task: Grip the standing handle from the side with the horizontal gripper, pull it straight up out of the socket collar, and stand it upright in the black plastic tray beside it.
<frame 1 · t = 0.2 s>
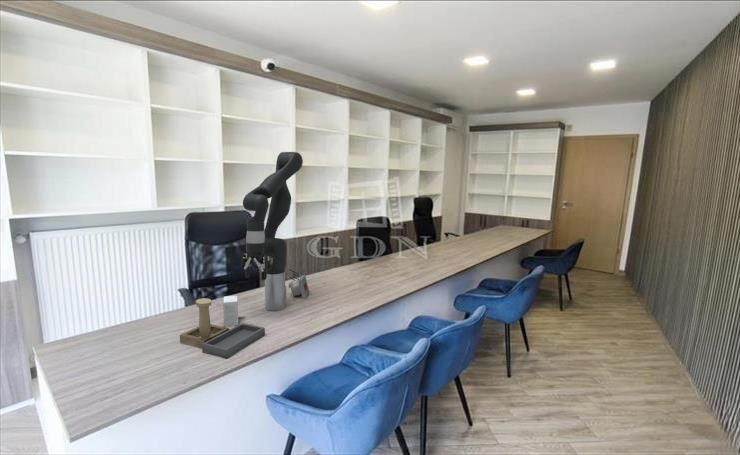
hand: (255, 278, 153), 18 cm above the counter, tool pointing down, fingers open, 8 cm apart
handle: (205, 339, 134), resting in socket collar
socket collar: (205, 339, 134), on the counter
voltmeter: (297, 292, 191), on the counter
tray: (235, 343, 131), on the counter
small box: (231, 323, 150), on the counter
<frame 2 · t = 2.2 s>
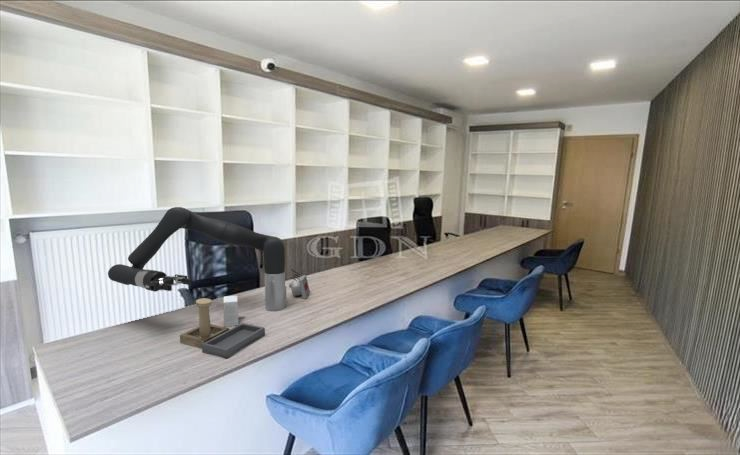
hand: (180, 285, 136), 20 cm above the counter, tool horizontal, fingers open, 8 cm apart
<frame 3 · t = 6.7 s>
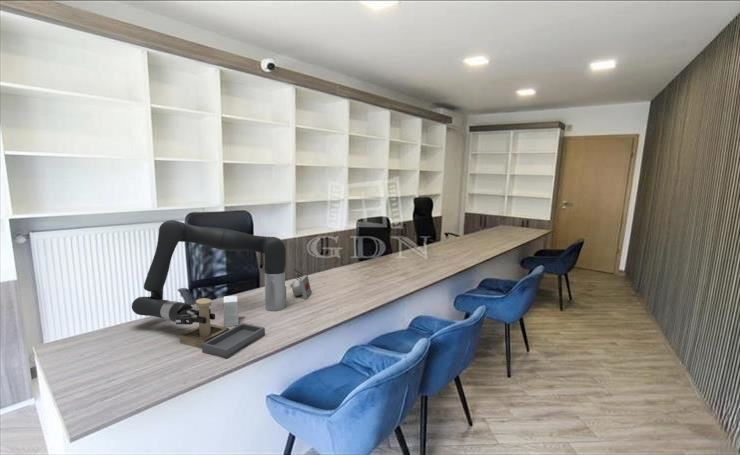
hand: (210, 318, 132), 9 cm above the counter, tool horizontal, fingers closed on handle, 3 cm apart
handle: (205, 339, 134), resting in socket collar, touching gripper
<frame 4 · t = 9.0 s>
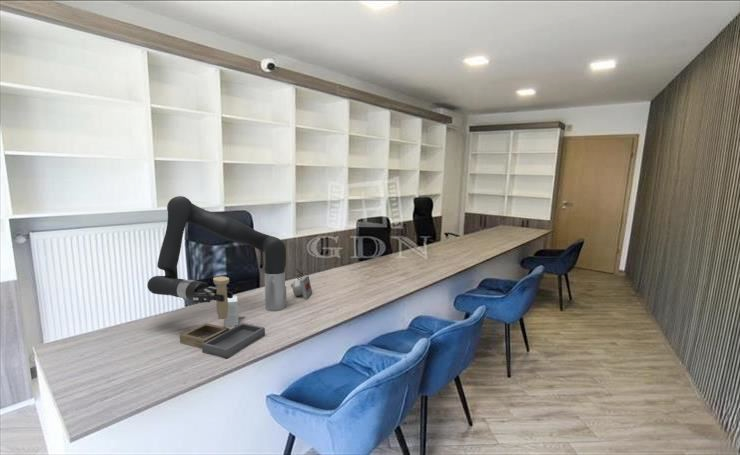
hand: (227, 297, 129), 18 cm above the counter, tool horizontal, fingers closed on handle, 3 cm apart
handle: (222, 318, 131), point 9 cm above the counter, touching gripper
when the fingers open (11 cm above the counter, at t = 11.4 s): handle drops 1 cm, resting on tray.
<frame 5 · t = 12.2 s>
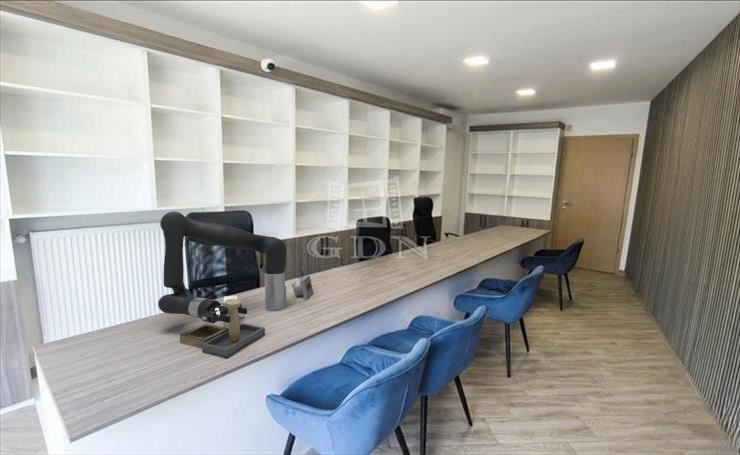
hand: (238, 315, 129), 11 cm above the counter, tool horizontal, fingers open, 8 cm apart
handle: (234, 340, 131), point 1 cm above the counter, touching tray
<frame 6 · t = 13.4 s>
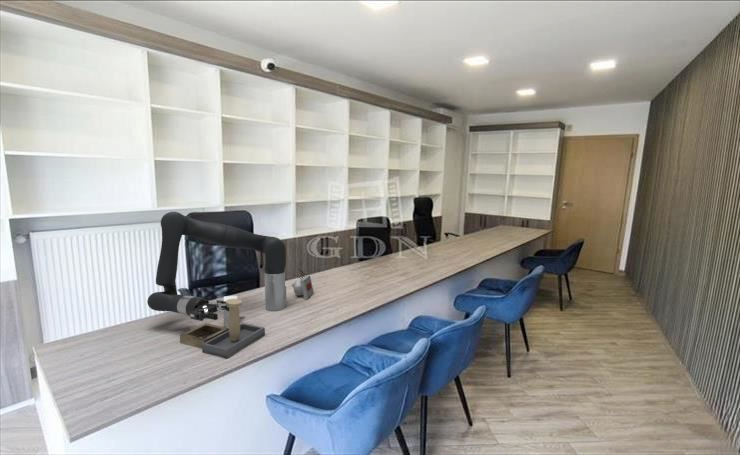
hand: (225, 313, 131), 11 cm above the counter, tool horizontal, fingers open, 8 cm apart
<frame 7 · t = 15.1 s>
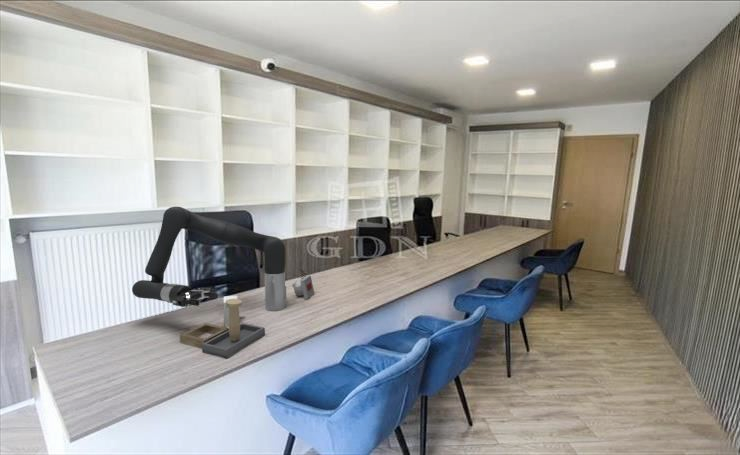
hand: (207, 299, 134), 15 cm above the counter, tool horizontal, fingers open, 8 cm apart
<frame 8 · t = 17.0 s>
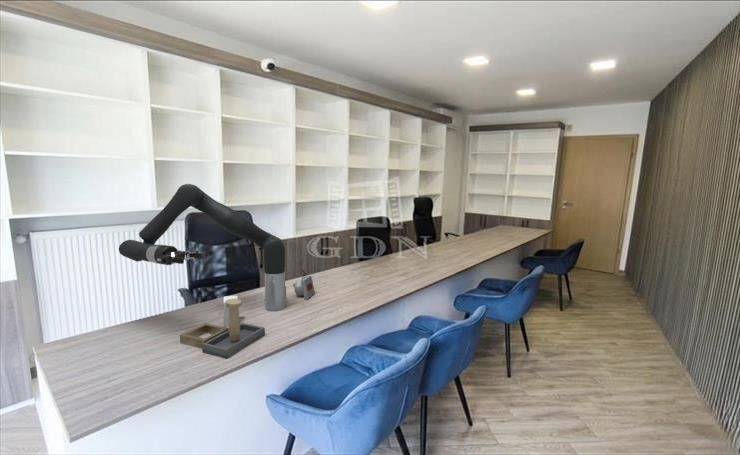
hand: (192, 258, 134), 30 cm above the counter, tool horizontal, fingers open, 8 cm apart
at the end: handle inside the target area on the tray (0.2 cm from its centre), point 0.8 cm above the tray's base; handle tilted 1°; the gripper is holding nothing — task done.
